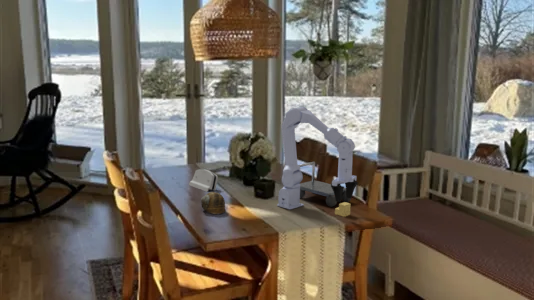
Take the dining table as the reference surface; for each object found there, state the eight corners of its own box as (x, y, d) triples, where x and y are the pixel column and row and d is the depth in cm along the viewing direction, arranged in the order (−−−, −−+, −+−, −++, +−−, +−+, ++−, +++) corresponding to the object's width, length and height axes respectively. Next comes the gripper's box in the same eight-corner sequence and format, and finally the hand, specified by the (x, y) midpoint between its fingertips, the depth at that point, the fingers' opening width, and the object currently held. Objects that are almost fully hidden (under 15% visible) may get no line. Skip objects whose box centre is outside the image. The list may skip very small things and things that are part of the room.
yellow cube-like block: (344, 217, 209) (344, 205, 208) (334, 214, 212) (335, 202, 211) (349, 215, 211) (350, 203, 211) (340, 212, 215) (341, 201, 214)
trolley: (333, 208, 220) (335, 173, 217) (293, 196, 236) (294, 164, 233) (352, 202, 230) (353, 169, 227) (312, 191, 246) (313, 160, 243)
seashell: (197, 209, 214) (197, 191, 213) (215, 206, 220) (215, 188, 218) (210, 216, 206) (210, 197, 204) (229, 212, 211) (229, 194, 210)
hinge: (188, 184, 254) (193, 166, 254) (195, 186, 257) (201, 167, 258) (207, 191, 242) (213, 172, 242) (214, 193, 245) (220, 174, 245)
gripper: (342, 172, 200) (340, 205, 203) (363, 167, 210) (361, 198, 213) (328, 169, 205) (327, 201, 207) (349, 164, 215) (347, 195, 218)
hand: (343, 199), depth 210 cm, fingers open, 7 cm apart
